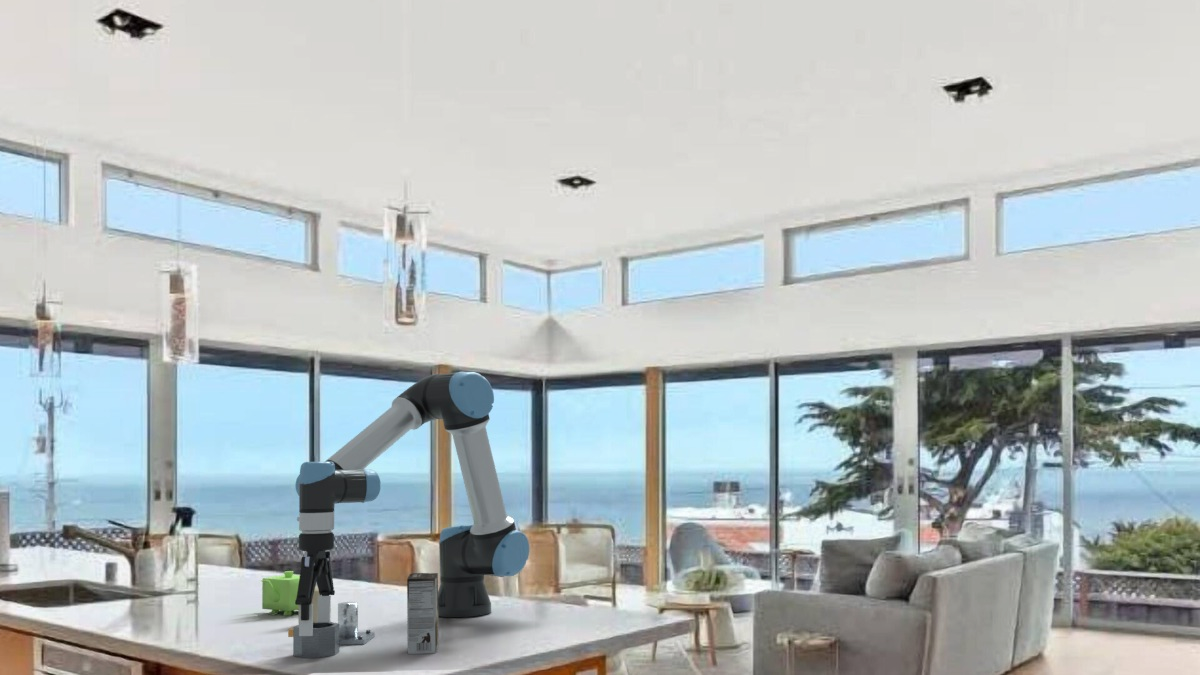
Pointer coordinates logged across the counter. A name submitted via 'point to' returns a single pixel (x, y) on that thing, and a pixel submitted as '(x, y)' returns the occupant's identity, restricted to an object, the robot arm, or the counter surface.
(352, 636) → the bolted post base
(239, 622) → the counter surface
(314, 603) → the candle
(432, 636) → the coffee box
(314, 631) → the collar
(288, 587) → the kettle
